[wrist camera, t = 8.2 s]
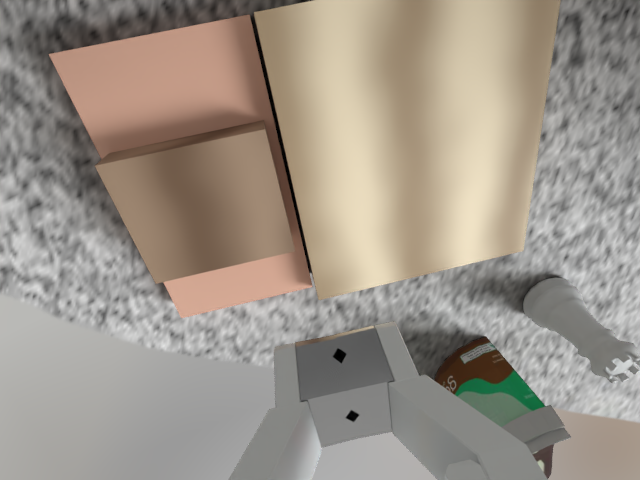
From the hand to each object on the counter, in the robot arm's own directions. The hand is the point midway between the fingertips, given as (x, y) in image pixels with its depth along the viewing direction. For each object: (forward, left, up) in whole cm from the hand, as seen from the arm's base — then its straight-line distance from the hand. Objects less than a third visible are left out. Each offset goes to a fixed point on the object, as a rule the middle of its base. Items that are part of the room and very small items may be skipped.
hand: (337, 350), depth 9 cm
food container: (-11, +24, -15) cm, 31 cm away
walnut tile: (+5, 0, -13) cm, 14 cm away
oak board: (-7, 0, -15) cm, 16 cm away
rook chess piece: (-19, +16, -15) cm, 29 cm away
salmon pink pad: (+5, 0, -15) cm, 16 cm away
